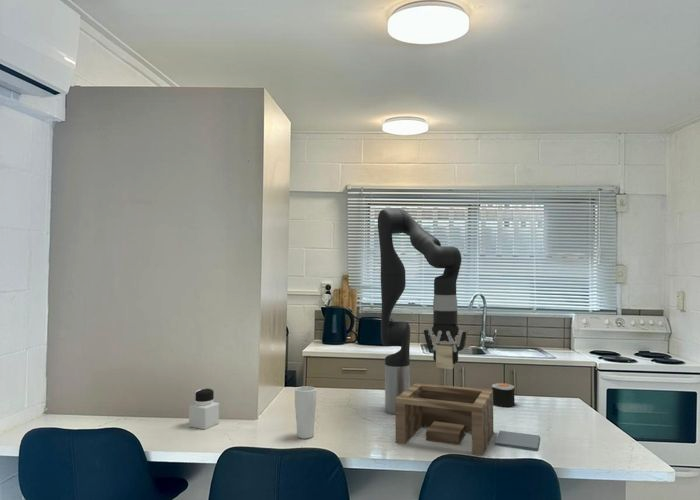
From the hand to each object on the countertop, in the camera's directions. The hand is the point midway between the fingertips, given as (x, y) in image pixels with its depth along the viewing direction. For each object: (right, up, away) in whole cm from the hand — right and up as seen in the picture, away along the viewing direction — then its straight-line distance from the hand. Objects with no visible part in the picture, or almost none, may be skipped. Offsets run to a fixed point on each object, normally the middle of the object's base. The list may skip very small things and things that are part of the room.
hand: (445, 362), depth 157 cm
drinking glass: (-44, -24, 0) cm, 50 cm away
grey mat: (+21, -23, -5) cm, 32 cm away
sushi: (+29, -25, +36) cm, 53 cm away
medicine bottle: (-80, -24, +11) cm, 84 cm away
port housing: (0, -23, -1) cm, 23 cm away
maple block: (0, -1, 0) cm, 1 cm away
